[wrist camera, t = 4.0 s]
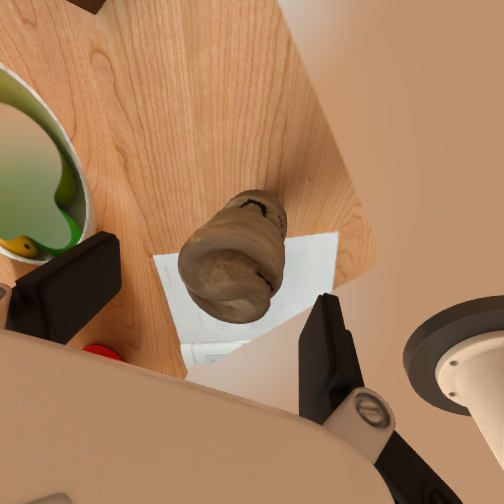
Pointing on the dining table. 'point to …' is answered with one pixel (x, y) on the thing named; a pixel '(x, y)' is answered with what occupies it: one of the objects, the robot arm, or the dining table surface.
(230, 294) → the light bulb
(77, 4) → the socket block
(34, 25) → the dining table surface
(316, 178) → the dining table surface
